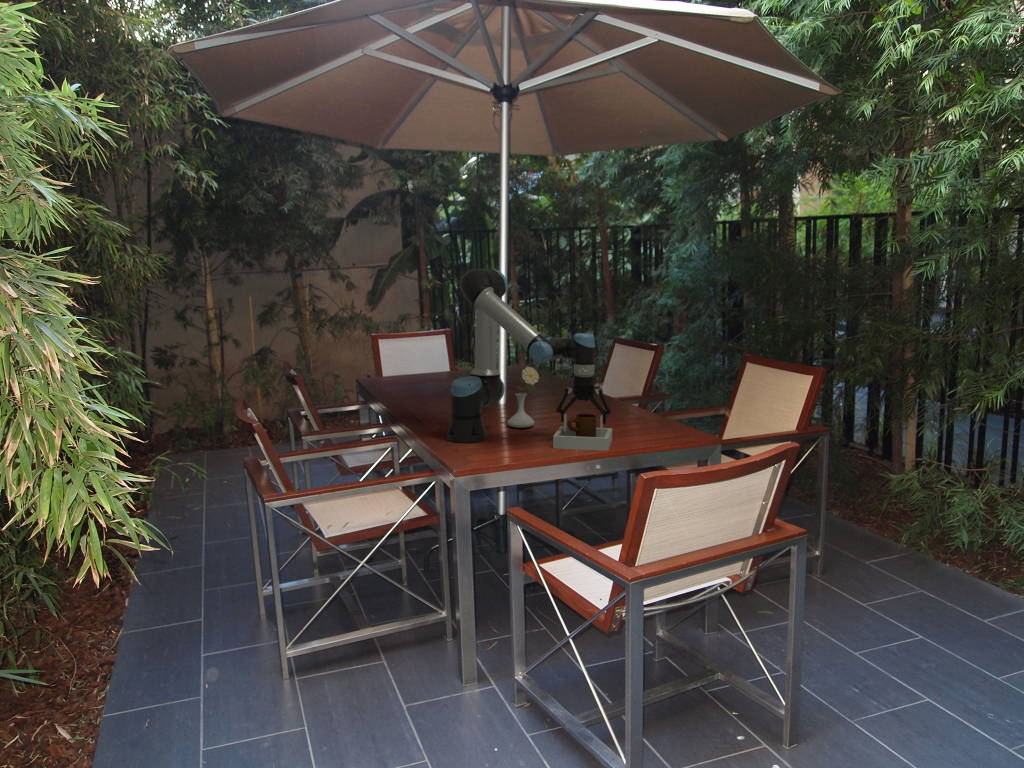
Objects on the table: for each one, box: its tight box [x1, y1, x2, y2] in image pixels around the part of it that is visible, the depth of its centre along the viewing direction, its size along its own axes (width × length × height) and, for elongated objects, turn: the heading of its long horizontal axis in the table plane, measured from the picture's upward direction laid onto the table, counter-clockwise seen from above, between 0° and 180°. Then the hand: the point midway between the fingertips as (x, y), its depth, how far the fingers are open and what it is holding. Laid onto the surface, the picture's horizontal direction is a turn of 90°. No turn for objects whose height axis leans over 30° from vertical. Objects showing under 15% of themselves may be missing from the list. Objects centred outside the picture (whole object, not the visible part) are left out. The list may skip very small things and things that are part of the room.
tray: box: [552, 425, 613, 452], centre depth 300 cm, size 20×18×4 cm
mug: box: [567, 413, 597, 437], centre depth 300 cm, size 12×8×9 cm, turn 120°
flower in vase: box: [507, 366, 540, 429], centre depth 330 cm, size 13×11×25 cm
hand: (583, 431), depth 300 cm, fingers open, 13 cm apart
